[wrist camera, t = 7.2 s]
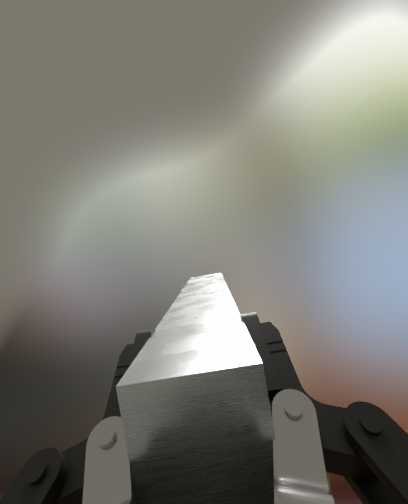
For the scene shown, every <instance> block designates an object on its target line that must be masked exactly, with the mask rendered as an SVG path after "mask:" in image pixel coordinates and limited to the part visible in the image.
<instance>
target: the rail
mask: <svg viewBox="0 0 408 504" xmlns="http://www.w3.org/2000/svg"><path fill="white" fill-rule="evenodd" d="M116 391H117V396H118V402H119V408H120V414H121V419H122V425H123V431H124V437H125V442H126V448H127V454H128V459H129V461H130V464H131V467H132V471H133V474H134V477H135V482H136V496H137V504H274V463H273V439H276V438H275V432H274V426H273V420H272V414H271V409H270V403H269V397H268V391H267V385H266V379H265V373H264V368H263V363H262V360H261V358H260V356H259V354H258V352H257V350H256V347H255V345H254V343H253V341H252V339H251V337H250V334H249V332H248V330H247V328H246V326H245V324H244V322H242V320H241V318H240V313H239V311H238V308H237V306H236V304H235V302H234V300H233V298H232V295H231V293H230V291H229V289H228V287H227V284H226V282H225V280H224V278H223V276H222V274H221V273H217V274H210V275H205V276H198V277H193V278H190V280H189V281H188V282H187V284H186V285H185V287H184V288H183V290H182V291H181V293H180V294H179V295H178V297H177V298H176V300H175V301H174V303H173V304H172V306H171V307H170V309H169V310H168V312H167V313H166V314H165V316H164V317H163V319H162V320H161V322H160V323H159V325H158V326H157V328H156V329H155V332H154V333H153V335H152V336H151V338H149V339H148V340H147V342H146V343H145V345H144V346H143V348H142V349H141V351H140V352H139V354H138V355H137V356H136V358H135V359H134V361H133V362H132V364H131V365H130V367H129V368H128V370H127V371H126V372H125V374H124V375H123V377H122V378H121V380H120V381H119V383H118V384H117V385H116Z"/></svg>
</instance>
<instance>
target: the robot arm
mask: <svg viewBox="0 0 408 504" xmlns="http://www.w3.org/2000/svg"><path fill="white" fill-rule="evenodd" d="M240 318H241V320H242V322H244V324H245V326H246V328H247V330H248V332H249V334H250V337H251V339H252V341H253V343H254V345H255V347H256V350H257V352H258V354H259V356H260V358H261V360H262V363H263V368H264V373H265V379H266V385H267V391H268V397H269V403H270V409H271V414H272V420H273V426H274V432H275V438H276V439H273V463H274V504H334V500H333V497H332V494H331V492H330V490H329V487H328V482H327V476H326V472H330V473H334V474H337V475H341V476H344V478H345V479H346V480H347V482H348V483H349V484H350V486H351V487H352V489H353V490H354V491H355V493H356V494H357V496H358V497H359V498H360V500H361V501H362V502H363V504H408V434H407V433H406V432H405V431H404V430H403V429H402V428H401V427H400V426H399V425H398V424H397V423H396V422H395V421H394V420H393V419H392V418H391V417H390V416H389V415H388V414H386V413H385V412H384V411H383V410H382V409H380V408H379V407H377V406H375V405H373V404H370V403H367V402H354V403H352V404H350V405H349V406H348V407H347V408H342V407H336V406H331V405H326V404H322V403H320V402H318V401H316V400H314V399H313V398H311V397H310V396H309V395H308V394H307V393H306V392H305V391H304V389H303V388H302V386H301V384H300V382H299V379H298V377H297V374H296V372H295V370H294V367H293V365H292V362H291V360H290V357H289V356H288V352H287V351H286V348H285V345H284V343H283V341H282V338H281V336H280V333H279V331H278V329H277V328H276V327H274V325H272V323H271V322H266V323H260V322H259V319H258V316H257V313H256V312H252V313H246V314H240ZM154 332H155V329H147V330H141V331H137V333H136V337H135V342H134V344H129V345H127V346H126V347H125V349H124V350H123V352H122V353H121V355H120V357H119V361H118V365H117V369H116V373H115V379H114V381H113V384H112V388H111V392H110V395H109V399H108V403H107V407H106V411H105V415H104V418H103V420H102V421H101V422H100V423H99V424H97V426H96V427H95V428H94V429H93V430H92V432H91V434H90V436H89V438H87V439H86V440H84V441H82V442H81V443H79V444H77V445H75V446H73V447H71V448H69V449H67V450H65V451H63V452H61V453H60V452H59V451H58V450H57V449H55V448H46V449H43V450H41V451H39V452H37V453H36V454H35V455H33V456H32V457H31V458H30V459H29V460H28V461H27V462H26V463H25V464H24V466H23V467H22V468H21V470H20V471H19V473H18V474H17V476H16V477H15V479H14V480H13V482H12V483H11V484H10V486H9V487H8V489H7V490H6V492H5V493H4V495H3V496H2V498H1V499H0V504H137V496H136V482H135V477H134V474H133V471H132V467H131V464H130V461H129V459H128V454H127V448H126V442H125V437H124V431H123V425H122V419H121V414H120V408H119V402H118V396H117V391H116V385H117V384H118V383H119V381H120V380H121V378H122V377H123V375H124V374H125V372H126V371H127V370H128V368H129V367H130V365H131V364H132V362H133V361H134V359H135V358H136V356H137V355H138V354H139V352H140V351H141V349H142V348H143V346H144V345H145V343H146V342H147V340H148V339H149V338H151V336H152V335H153V333H154Z"/></svg>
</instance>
